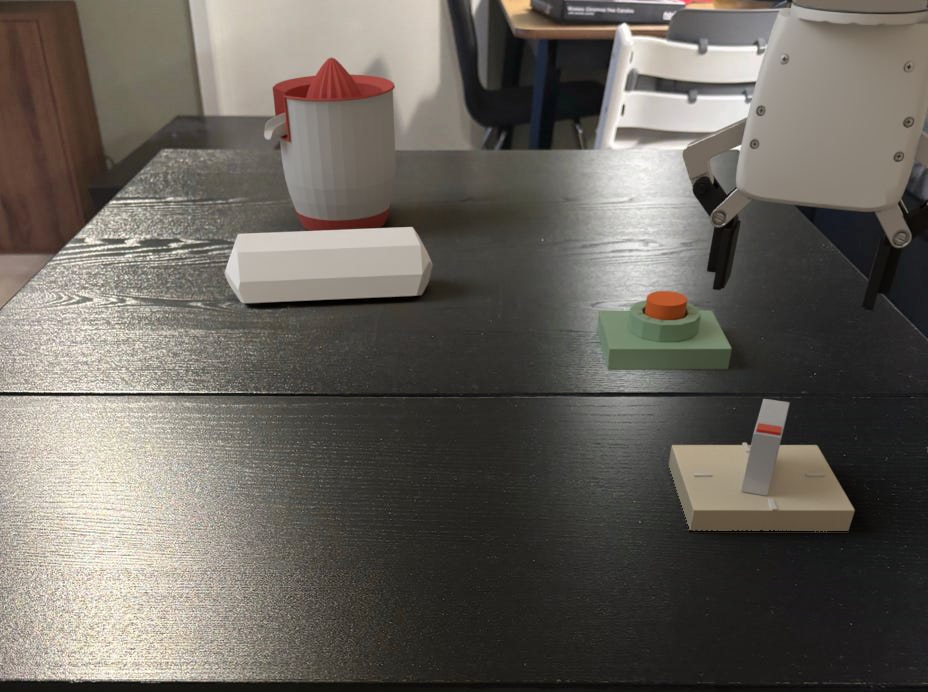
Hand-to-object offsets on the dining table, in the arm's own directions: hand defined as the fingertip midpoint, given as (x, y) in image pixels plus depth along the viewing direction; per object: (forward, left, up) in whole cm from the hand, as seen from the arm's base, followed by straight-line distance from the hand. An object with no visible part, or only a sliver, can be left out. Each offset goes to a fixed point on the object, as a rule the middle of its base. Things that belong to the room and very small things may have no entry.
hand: (793, 293), depth 63 cm
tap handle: (-1, -1, -15) cm, 15 cm away
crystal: (+38, -46, -17) cm, 62 cm away
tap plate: (-1, -1, -17) cm, 17 cm away
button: (+2, -30, -13) cm, 33 cm away
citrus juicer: (+40, -72, -17) cm, 84 cm away
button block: (+2, -30, -17) cm, 35 cm away
